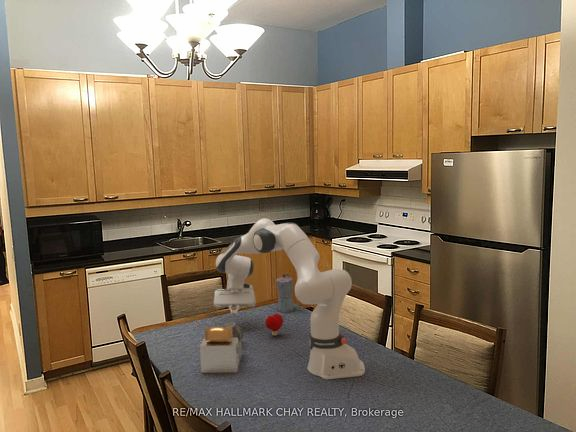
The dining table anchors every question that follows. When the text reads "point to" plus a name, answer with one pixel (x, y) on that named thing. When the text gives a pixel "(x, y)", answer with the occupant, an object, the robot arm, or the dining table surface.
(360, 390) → the dining table surface
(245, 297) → the robot arm
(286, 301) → the moka pot
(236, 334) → the vintage flashlight
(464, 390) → the dining table surface
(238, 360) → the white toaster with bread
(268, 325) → the red heart ornament
